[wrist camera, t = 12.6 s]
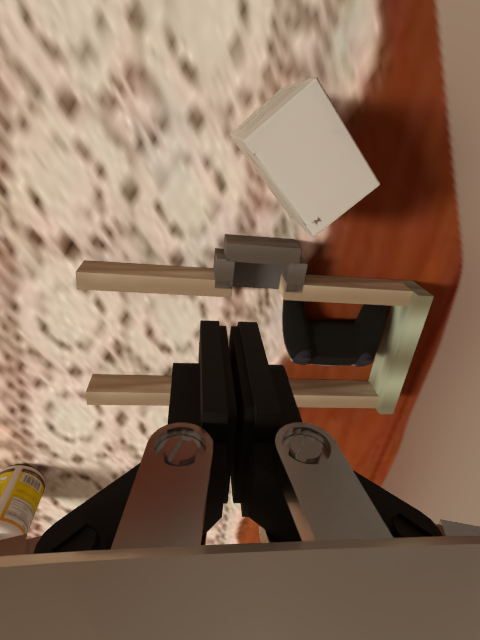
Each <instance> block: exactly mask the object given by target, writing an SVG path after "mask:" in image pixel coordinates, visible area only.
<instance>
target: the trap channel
mask: <svg viewBox="0 0 480 640" xmlns="http://www.w3.org/2000/svg"><path fill="white" fill-rule="evenodd" d="M301 250H302V249H301V247H300V246H299V245H298V244H297V243H296V241H295V240H294V239H281V238H268V237H254V236H241V235H227V234H225V238H224V249H216V248H215V256H214V269H212V268H196V267H180V266H163V265H147V264H131V263H115V262H98V261H84V262H83V263H82V264H81V266H80V267H79V268H78V270H77V271H76V281H77V289H81V290H100V291H119V292H139V293H158V294H178V295H197V296H216V297H231V295H232V285H233V275H234V265H235V262H244V263H260V264H275V265H282V271H281V277H280V283H279V291H280V293H281V295H282V297H283V299H284V300H294V301H313V302H333V303H352V304H372V305H391V307H390V310H389V314H388V317H387V320H386V324H385V327H384V330H383V334H382V337H381V340H380V344H379V347H378V350H377V354H376V357H375V360H374V364H373V367H372V370H371V374H370V377H369V380H368V381H366V380H322V379H288V380H289V383H290V386H291V389H292V392H293V395H294V398H295V401H296V404H297V407H332V408H376V410H377V411H378V413H379V414H393V412H394V409H395V406H396V403H397V401H398V398H399V395H400V392H401V389H402V386H403V383H404V381H405V378H406V375H407V372H408V369H409V366H410V363H411V361H412V358H413V355H414V352H415V349H416V346H417V343H418V341H419V338H420V335H421V332H422V329H423V326H424V323H425V321H426V318H427V315H428V312H429V309H430V306H431V303H432V300H433V298H434V296H433V295H431V294H430V293H429V292H427V291H426V290H425V289H423V288H422V287H421V286H419V285H418V284H417V283H415V282H414V281H407V280H391V279H374V278H358V277H342V276H326V275H309V274H306V270H307V265H308V264H307V263H306V262H305V260H304V259H303V258H302V257H301ZM171 381H172V376H143V375H99V374H93V375H92V378H91V380H90V383H89V385H88V388H87V391H86V397H87V405H165V406H169V404H170V393H171Z"/></svg>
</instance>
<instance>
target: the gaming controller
mask: <svg viewBox="0 0 480 640" xmlns="http://www.w3.org/2000/svg"><path fill="white" fill-rule="evenodd" d="M385 320H386V305H372V304H364V305H363V307H362V309H361V311H360V313H359V315H358V317H357V319H356V321H355V322H352V323H351V322H336V321H311V320H307V318H306V314H305V310H304V307H303V304H302V301H294V300H284V299H283V309H282V331H283V338H284V343H285V347H286V350H287V352H288V354H289V357H290V359H291V361H293V362H294V363H296V364H301V365H306V364H307V363H308V364H313V365H325V366H348V365H356V366H366V365H369V364H371V363H372V362H373V359H374V356H375V353H376V350H377V347H378V344H379V341H380V338H381V335H382V332H383V328H384V324H385Z"/></svg>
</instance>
